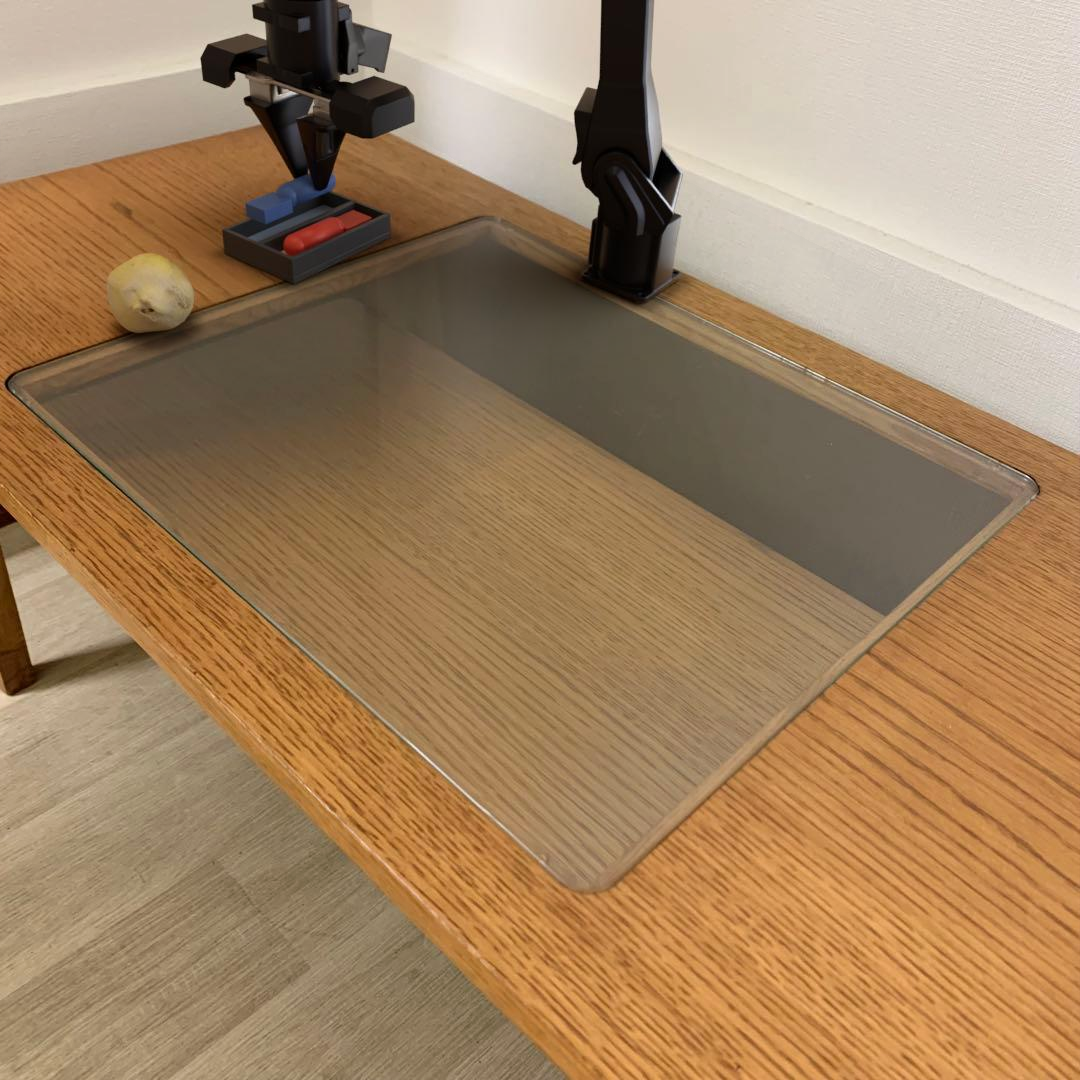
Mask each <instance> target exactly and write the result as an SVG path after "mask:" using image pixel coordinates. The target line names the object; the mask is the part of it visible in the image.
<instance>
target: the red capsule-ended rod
mask: <svg viewBox="0 0 1080 1080" xmlns="http://www.w3.org/2000/svg"><path fill="white" fill-rule="evenodd" d="M370 220H372V217H370V216H367V215H365V214H362V213H360V212H357V211H355V210H352V211H350V212H347V213H345V214H343V215H341V216H338V217H336V218H335V217H329V218H326V219H324V220H322V221H319V222H317V223H315V224H313V225H310V226H308V227H306V228H304V229H302V230H299V231H297V232H295V233H293V234H290V235H289V236H287V237H286V238H285V240H284V244H283V247H284V251H285V253H286V254H287V255H289V256H291V257H293V256H295V255H297V254H299V253H301V252H304V251H306V250H308V249H310V248H312V247H314V246H316V245H319V244H321V243H323V242H325V241H327V240H329V239H331V238H334V237H336V236H338V235H340V234H342V233H344V232H347V231H349V230H351V229H353V228H355V227H357V226H359V225H362V224H364V223H366V222H368V221H370Z"/></svg>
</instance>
